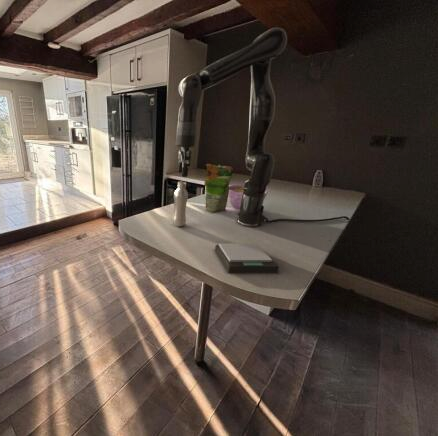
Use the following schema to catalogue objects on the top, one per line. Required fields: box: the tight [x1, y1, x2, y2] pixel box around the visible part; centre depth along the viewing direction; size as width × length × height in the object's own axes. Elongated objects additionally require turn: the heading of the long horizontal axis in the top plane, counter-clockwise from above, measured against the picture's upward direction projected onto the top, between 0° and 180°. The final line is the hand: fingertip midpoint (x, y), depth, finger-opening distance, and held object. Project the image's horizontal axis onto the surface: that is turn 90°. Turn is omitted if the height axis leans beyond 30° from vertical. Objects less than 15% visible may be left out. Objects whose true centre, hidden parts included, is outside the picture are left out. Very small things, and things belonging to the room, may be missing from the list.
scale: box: [214, 243, 280, 274], centre depth 80 cm, size 16×14×3 cm
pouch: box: [204, 163, 234, 213], centre depth 123 cm, size 11×12×25 cm
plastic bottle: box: [171, 181, 189, 227], centre depth 103 cm, size 6×7×20 cm
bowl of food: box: [228, 184, 268, 212], centre depth 127 cm, size 20×20×12 cm
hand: (182, 174), depth 98 cm, fingers open, 8 cm apart
